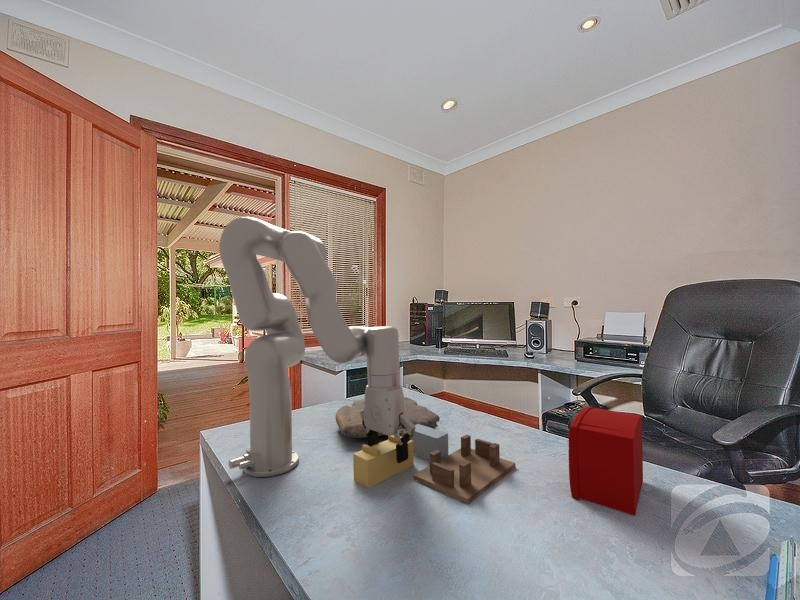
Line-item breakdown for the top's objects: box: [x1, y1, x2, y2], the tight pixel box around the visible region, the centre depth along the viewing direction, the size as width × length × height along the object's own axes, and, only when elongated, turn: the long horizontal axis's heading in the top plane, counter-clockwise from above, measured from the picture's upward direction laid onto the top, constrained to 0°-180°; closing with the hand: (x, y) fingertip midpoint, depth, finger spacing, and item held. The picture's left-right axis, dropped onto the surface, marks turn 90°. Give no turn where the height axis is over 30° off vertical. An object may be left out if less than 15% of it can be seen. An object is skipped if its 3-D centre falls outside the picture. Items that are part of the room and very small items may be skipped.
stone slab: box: [335, 396, 440, 439], centre depth 111 cm, size 31×29×6 cm
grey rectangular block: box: [410, 424, 449, 461], centre depth 89 cm, size 4×10×6 cm, turn 46°
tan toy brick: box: [352, 435, 415, 489], centre depth 80 cm, size 14×5×7 cm, turn 134°
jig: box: [412, 434, 516, 505], centre depth 78 cm, size 20×14×6 cm
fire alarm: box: [568, 405, 644, 517], centre depth 71 cm, size 16×11×15 cm
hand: (387, 454), depth 80 cm, fingers open, 9 cm apart
